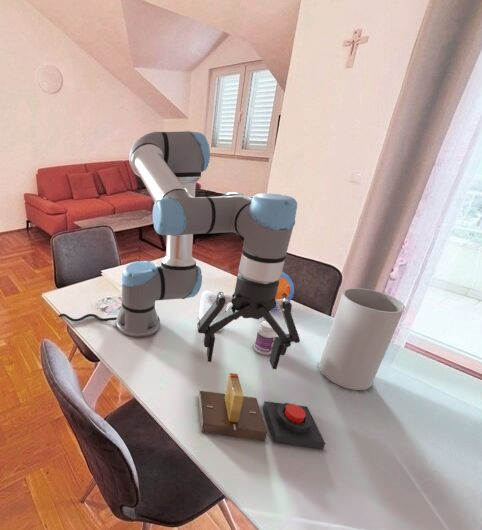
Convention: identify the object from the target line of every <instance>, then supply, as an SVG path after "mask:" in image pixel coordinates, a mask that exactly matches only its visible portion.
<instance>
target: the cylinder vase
mask: <svg viewBox="0 0 482 530" xmlns="http://www.w3.org/2000/svg"><path fill="white" fill-rule="evenodd" d="M338 303H339V304H338V306H337V309H336V313H335V316H334V318H333V321H332V324H331V327H330V330H329V333H328V335H327V339H326V343H325V345H324V348H323V351H322V354H321V357H320V360H319V363H318V367H319V370H320V372H321V374H322V375H323V376H324V377H325V378H326V379H328V380H329V381H330V382H332V383H333V384H335V385H337V386H339V387H341V388H345V389H349V390H352V391H366V390H368V389H370V388H371V386H373V382H374V380H375V379H376V375H377V373H378V371H379V370H380V366H381V365H382V362H383V360H384V357H385V355H386V353H387V351H388V348H389V347H390V343H391V342H392V339H393V337H394V335H395V332H396V330H397V327H398V325H399V323H400V321H401V319H402V316H403V315H404V314H403V313H404V311H405V309H406V306H405V305H404V304H403V302H401V301H400V300H399V299H397V298H396V297H393V296H391V295H389V294H386V293H384V292H381V291H377V290H373V289H368V288H363V287H349V288H345V289H344V290H343V291H342V294H341V298H340V300H339V302H338Z"/></svg>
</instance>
